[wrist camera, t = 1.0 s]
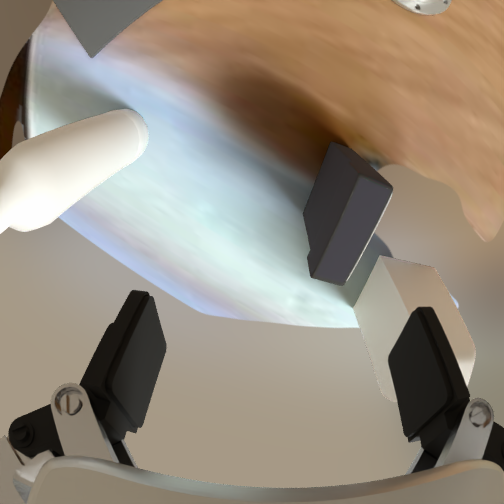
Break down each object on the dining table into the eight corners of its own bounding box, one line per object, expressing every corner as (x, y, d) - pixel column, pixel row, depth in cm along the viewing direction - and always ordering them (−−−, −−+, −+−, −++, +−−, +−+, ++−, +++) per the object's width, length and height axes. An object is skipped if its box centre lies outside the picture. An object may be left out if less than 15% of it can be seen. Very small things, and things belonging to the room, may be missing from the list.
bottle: (140, 99, 32) (-69, 177, 7) (157, 152, 36) (-10, 300, 11) (94, 121, 33) (-89, 217, 8) (111, 169, 37) (-44, 306, 12)
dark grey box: (326, 221, 40) (349, 289, 27) (298, 212, 40) (310, 279, 27) (356, 150, 34) (402, 191, 22) (326, 138, 34) (359, 172, 21)
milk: (352, 308, 49) (383, 446, 27) (379, 255, 42) (441, 401, 21) (406, 315, 49) (448, 435, 27) (434, 267, 43) (502, 390, 21)
